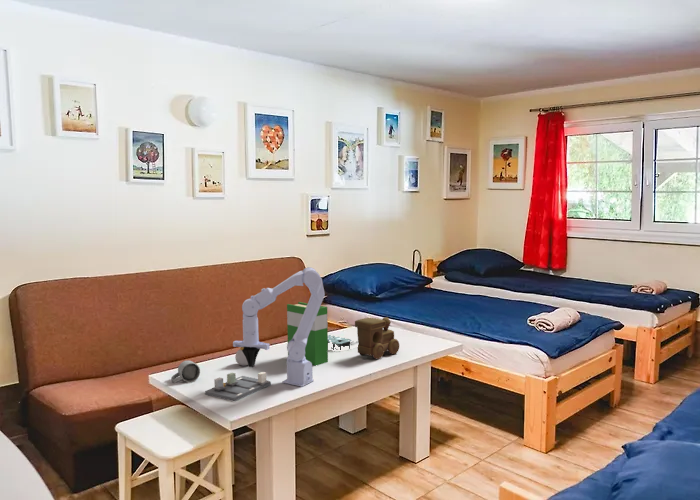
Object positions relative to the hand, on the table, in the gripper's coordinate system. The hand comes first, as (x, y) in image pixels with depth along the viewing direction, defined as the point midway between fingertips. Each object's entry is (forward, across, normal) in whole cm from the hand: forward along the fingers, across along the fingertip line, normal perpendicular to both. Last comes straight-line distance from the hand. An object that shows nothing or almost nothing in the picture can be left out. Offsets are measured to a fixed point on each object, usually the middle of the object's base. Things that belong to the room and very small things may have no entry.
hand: (251, 366), depth 209 cm
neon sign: (+8, -12, -68) cm, 70 cm away
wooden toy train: (+7, -34, -54) cm, 64 cm away
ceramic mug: (+7, +27, +4) cm, 29 cm away
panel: (+7, +2, +6) cm, 10 cm away
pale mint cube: (+5, +5, +6) cm, 10 cm away
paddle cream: (+5, -5, +1) cm, 7 cm away
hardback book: (+7, -7, -36) cm, 38 cm away
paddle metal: (+5, +7, +12) cm, 15 cm away
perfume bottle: (+7, +15, -22) cm, 28 cm away
